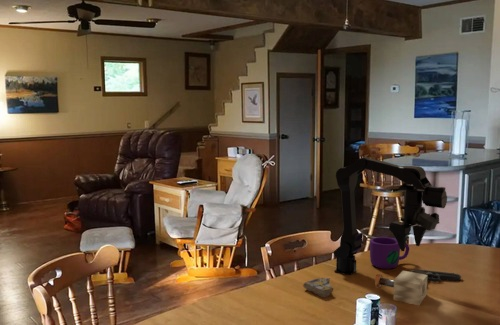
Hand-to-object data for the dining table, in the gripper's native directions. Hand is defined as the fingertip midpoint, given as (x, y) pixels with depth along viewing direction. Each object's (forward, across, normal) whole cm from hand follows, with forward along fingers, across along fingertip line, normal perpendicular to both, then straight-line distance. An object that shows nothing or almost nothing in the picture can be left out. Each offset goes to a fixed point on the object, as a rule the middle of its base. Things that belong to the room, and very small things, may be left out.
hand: (410, 248), depth 165 cm
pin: (+12, -10, -1) cm, 16 cm away
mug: (+14, +15, +17) cm, 27 cm away
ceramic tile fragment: (+14, -27, +17) cm, 35 cm away
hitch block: (+14, -8, -6) cm, 17 cm away
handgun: (+14, +11, -4) cm, 19 cm away
